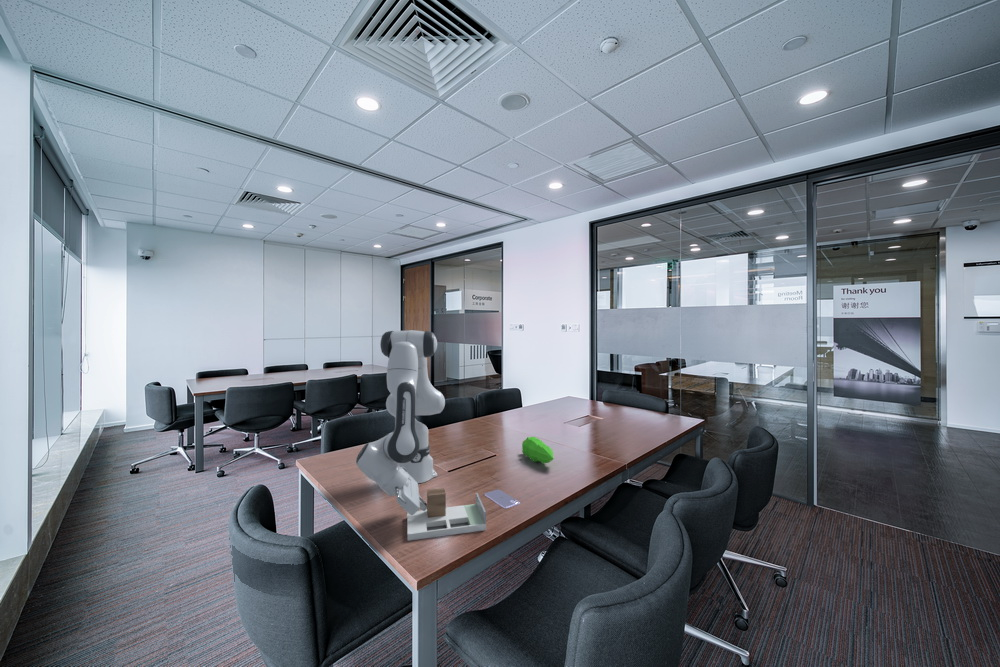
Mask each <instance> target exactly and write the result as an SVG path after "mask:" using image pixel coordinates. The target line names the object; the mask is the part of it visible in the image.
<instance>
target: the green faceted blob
mask: <svg viewBox="0 0 1000 667" xmlns="http://www.w3.org/2000/svg"><path fill="white" fill-rule="evenodd" d="M521 447H522V448H521V450H522V451H521V452H522V453H523V454H524V455H525V457H526V458H529V459H530V460H532V462H534V463H536V462H537V461H538V462H540V463H541V464H544V465H545V464H549V463H550V462H552V461H553V460H554V452H553V449H552V448H551V447H550V446H549V445H547V444H546V443H544V442H543V440H541V439H540V438H538V437H536V436H527V438H525V439H523V441H522V446H521Z"/></svg>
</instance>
